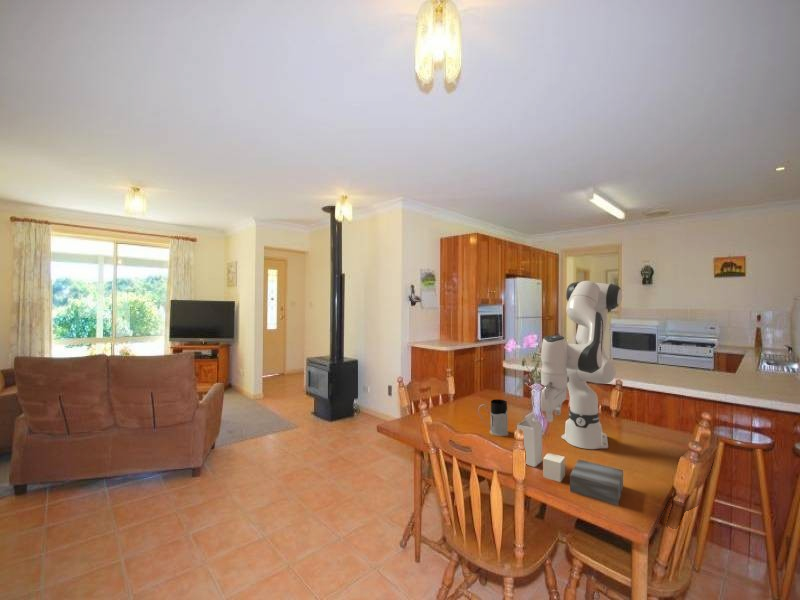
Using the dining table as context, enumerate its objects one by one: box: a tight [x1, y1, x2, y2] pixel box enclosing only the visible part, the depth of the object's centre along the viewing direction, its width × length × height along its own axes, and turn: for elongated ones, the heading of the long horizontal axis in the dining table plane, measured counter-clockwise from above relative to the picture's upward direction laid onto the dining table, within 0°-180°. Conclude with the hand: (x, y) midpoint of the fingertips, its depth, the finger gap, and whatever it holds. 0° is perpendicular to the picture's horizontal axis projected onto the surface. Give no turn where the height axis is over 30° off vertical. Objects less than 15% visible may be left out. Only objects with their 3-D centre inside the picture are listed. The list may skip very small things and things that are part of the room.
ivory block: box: [542, 452, 566, 483], centre depth 132 cm, size 6×6×7 cm
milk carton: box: [516, 411, 543, 468], centre depth 144 cm, size 7×7×19 cm
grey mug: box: [478, 399, 509, 437], centre depth 174 cm, size 9×14×15 cm, turn 90°
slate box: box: [569, 459, 624, 506], centre depth 123 cm, size 14×14×6 cm
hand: (553, 417), depth 132 cm, fingers open, 8 cm apart
